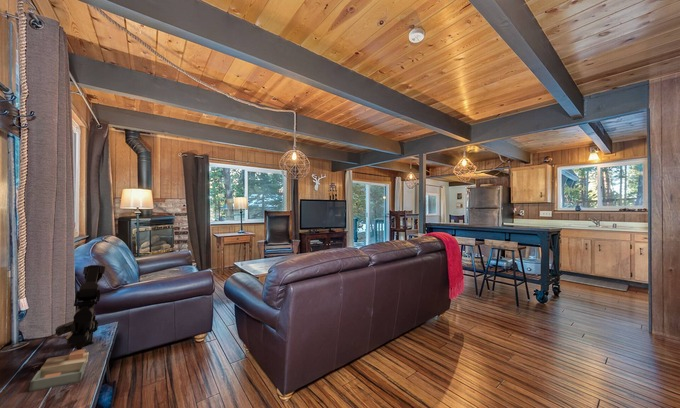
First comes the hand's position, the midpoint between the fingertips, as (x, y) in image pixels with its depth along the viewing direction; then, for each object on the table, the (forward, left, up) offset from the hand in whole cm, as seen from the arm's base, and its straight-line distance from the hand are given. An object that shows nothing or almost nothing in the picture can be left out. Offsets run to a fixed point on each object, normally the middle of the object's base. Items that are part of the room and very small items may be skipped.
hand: (79, 350), depth 119 cm
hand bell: (-15, -28, -5) cm, 32 cm away
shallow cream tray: (+5, +2, -5) cm, 8 cm away
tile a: (+2, +2, -1) cm, 3 cm away
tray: (+11, +9, -5) cm, 15 cm away
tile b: (+13, +8, -3) cm, 15 cm away
